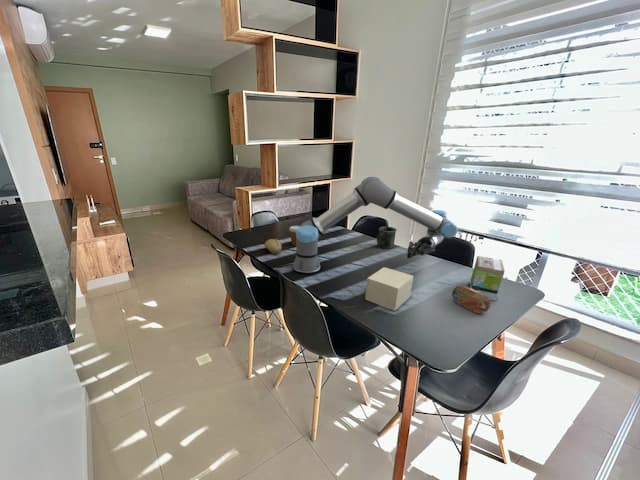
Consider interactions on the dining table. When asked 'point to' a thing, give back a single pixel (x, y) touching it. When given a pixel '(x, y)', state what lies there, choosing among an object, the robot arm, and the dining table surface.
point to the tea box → (487, 276)
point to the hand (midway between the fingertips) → (409, 255)
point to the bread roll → (273, 246)
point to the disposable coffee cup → (293, 234)
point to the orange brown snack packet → (471, 299)
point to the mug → (386, 237)
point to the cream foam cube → (388, 288)
